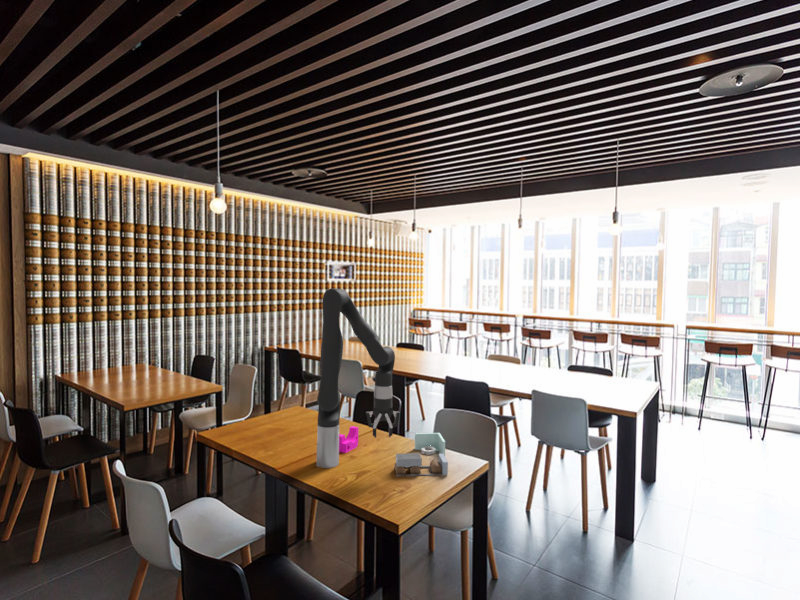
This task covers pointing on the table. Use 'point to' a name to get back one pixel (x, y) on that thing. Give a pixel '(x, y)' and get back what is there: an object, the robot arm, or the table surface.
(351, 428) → the magenta curved bracket
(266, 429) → the table surface
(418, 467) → the roller bed
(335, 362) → the robot arm
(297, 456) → the table surface
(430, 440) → the l-shaped corner panel
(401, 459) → the slab
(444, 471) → the stop gate
